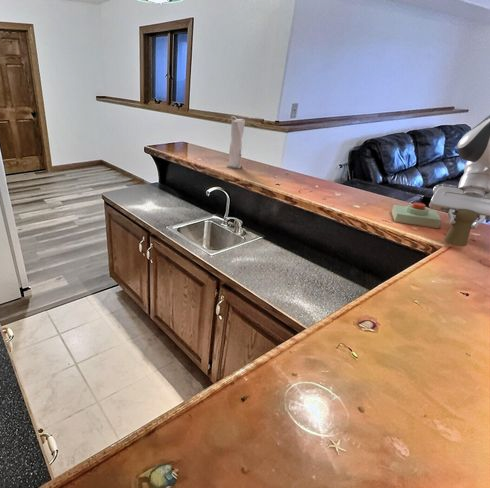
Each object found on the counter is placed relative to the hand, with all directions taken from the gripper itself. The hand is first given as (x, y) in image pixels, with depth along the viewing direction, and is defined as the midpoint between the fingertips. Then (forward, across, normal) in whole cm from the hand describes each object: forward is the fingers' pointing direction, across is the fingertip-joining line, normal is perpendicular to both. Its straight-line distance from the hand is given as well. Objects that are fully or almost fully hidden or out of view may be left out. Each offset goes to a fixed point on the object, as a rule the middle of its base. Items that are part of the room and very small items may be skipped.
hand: (462, 226), depth 110 cm
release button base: (-9, -13, +20) cm, 25 cm away
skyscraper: (-29, -106, +40) cm, 117 cm away
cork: (+4, 0, +5) cm, 6 cm away
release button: (-12, -13, +17) cm, 24 cm away
